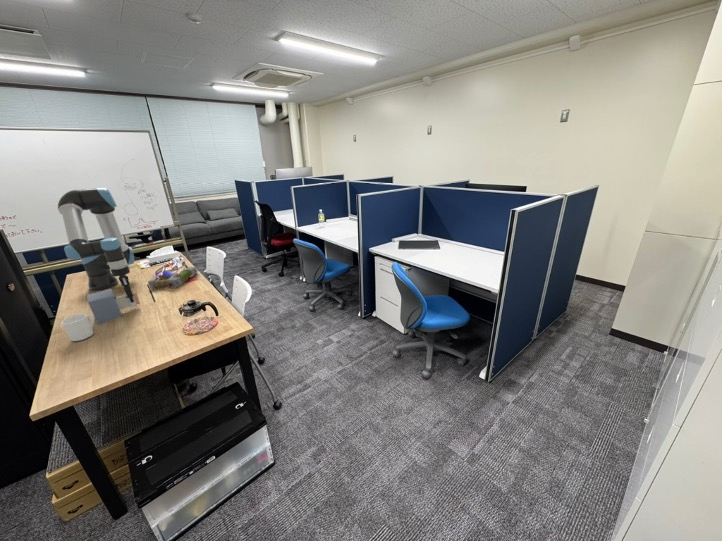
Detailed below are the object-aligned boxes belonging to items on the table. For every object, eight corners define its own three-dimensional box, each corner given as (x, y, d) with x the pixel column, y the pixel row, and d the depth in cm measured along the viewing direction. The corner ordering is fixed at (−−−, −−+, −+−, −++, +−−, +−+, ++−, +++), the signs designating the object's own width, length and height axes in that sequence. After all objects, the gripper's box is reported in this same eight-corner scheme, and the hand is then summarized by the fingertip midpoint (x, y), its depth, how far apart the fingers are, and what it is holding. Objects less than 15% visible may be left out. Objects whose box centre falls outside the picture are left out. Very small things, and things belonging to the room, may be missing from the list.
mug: (74, 344, 134) (64, 326, 130) (67, 339, 138) (58, 320, 134) (103, 332, 142) (95, 314, 138) (96, 327, 147) (88, 310, 143)
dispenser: (96, 315, 158) (87, 294, 153) (120, 308, 164) (112, 288, 159) (97, 324, 149) (88, 302, 144) (123, 316, 156) (114, 295, 151)
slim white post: (99, 314, 154) (94, 303, 151) (139, 302, 165) (135, 291, 162) (99, 315, 153) (94, 304, 150) (140, 303, 164) (136, 292, 162)
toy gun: (174, 276, 211) (200, 274, 210) (147, 291, 185) (177, 290, 185) (171, 267, 208) (198, 265, 207) (144, 282, 183) (174, 280, 182)
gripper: (108, 265, 157) (123, 303, 166) (111, 273, 146) (127, 313, 155) (125, 261, 162) (139, 298, 171) (129, 269, 151) (144, 308, 160)
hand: (133, 305), depth 163 cm, fingers open, 3 cm apart
